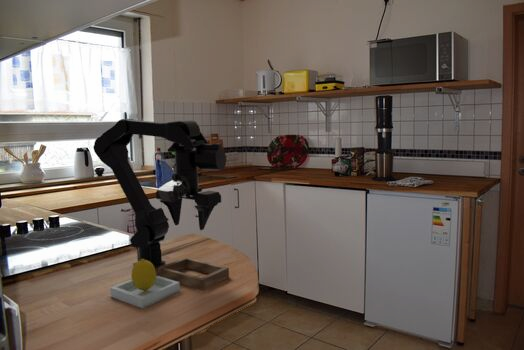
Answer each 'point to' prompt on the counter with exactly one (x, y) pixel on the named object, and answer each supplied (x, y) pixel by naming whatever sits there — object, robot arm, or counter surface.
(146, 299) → the dish
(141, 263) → the lemon
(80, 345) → the counter surface
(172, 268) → the holder frame
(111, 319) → the counter surface
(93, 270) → the counter surface
